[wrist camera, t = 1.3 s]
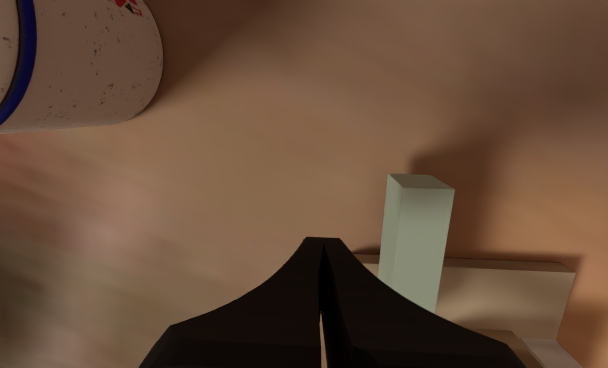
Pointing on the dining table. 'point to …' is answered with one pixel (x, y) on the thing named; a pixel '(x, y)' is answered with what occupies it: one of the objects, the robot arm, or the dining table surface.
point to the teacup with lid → (76, 63)
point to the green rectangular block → (415, 236)
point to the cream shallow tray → (506, 303)
